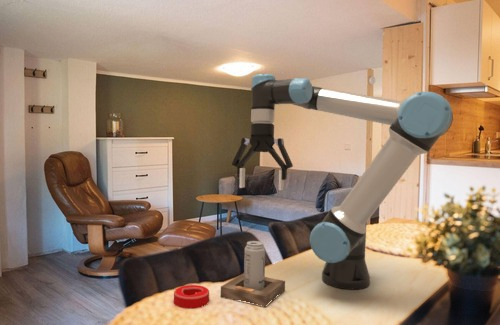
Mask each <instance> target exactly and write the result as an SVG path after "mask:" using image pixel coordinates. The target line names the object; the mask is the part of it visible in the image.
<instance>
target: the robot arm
mask: <svg viewBox="0 0 500 325" xmlns="http://www.w3.org/2000/svg"><path fill="white" fill-rule="evenodd" d="M250 91H251V113H250V114H251V115H250V122H251V125H250V139H249V138H246V137H242V138H241V141H240V145H239V148H238V151H237V152H236V155H235V156H234V158H233V161H232V163H231V165H232V166H234V167H236V169H237V170H236V172H237V173H236V175H237V176H236V177H237V178H239V185H238V186H239V189H243V188H245V187H246V168H245V167H244V166H245V165H246V164H247V162H248V161H249V160H250V159H251V158H252V156H254V154H255V153H269V154H270V155H271V157H272V158H273V159H274V160H275V162H276V163H277V164H278V166H279V167H280V168H281V169H278V191H283V190H284V187H285V186H284V185H285V182H284V181H285V180H287V176H288V173H287V172H288V170H289V169H292V168H293V167H294V165H293V162H292V161H291V159H290V156H289V153H288V152H287V149H286V147H285V143H284V139H283V138H281V137H280V138H277V139H276V138H275V137H274V136H275V125H274V122H275V106H276V105H294V106H296V107H300V108H303V109H306V110H314V111H320V112H323V113H324V112H325V113H329V114H333V115H339V116H344V117H349V118H353V119H358V120H364V121H369V122H373V123H378V124H382V125H383V124H384V125H387V126H389V128H388V132H389V133H388V134H389V138H388V139H387V140H386V141H385V143H384V144H383V146H382V147H381V149H380V150H379V151H378V153H377V154H376V155H375V156H374V158H373V159H372V160H371V163H370V164H369V165H368V167H367V168H366V169H365V171H363V173H362V175H361V176H360V177H359V178H358V180H357V182H356V183H355V185H354V186H353V187H352V189H351V190H350V191H349V193H348V194H347V195H346V197H345V198H344V200H343V201H342V202H341V204H340V205H337V206H332V207H331V209H329V211H328V213H327V214H326V215H325V216H324V218H323V220H322V221H320V222H319V223H317V224H316V225H315V226H314V227H313V229H312V230H311V232H310V235H309V244H310V248H311V250H312V252H313V253H314V255H315V256H316V257H317V258H318V259H319V260H321V261H323V262H325V263H324V266H323V269H322V271H321V272H322V273H321V280H322V282H323V283H324V284H327V285H328V286H331V287H334V288H338V289H344V290H362V289H365V288H368V287H369V286H370V284H371V276H370V273H369V269H368V265H367V263H366V244H367V241H366V240H367V239H366V238H367V225H368V221H369V220H370V218H371V217H372V216H373V214H374V213H375V212H376V211H377V210H378V209H379V207H380V206H381V204H382V203H383V202H384V201H385V199H386V198H387V197H388V195H389V194H390V192H391V191H392V190H393V189H394V187H395V186H396V184H397V183H399V181H400V179H401V178H402V176H403V175H404V174H405V173H406V172H407V170H408V169H409V168H410V166H411V165H412V164H413V163H414V161H415V160H416V159H417V157H418V156H420V155H423V154H428V153H429V152H430V151H431V149H432V147H433V146H435V144H436V143H437V141H438V140H439V139H440V137H442V136H444V135H445V134H446V133H447V132H448V131H450V128H451V127H452V124H453V122H454V121H453V120H454V115H453V109H452V106H451V104H450V102H449V101H448V100H447V99H446V98H445V97H443V96H442V94H438V93H437V92H433V91H427V90H426V91H420V92H416V93H413V94H412V95H410V96H408V97H407V98H404V99H403V100H396V99H391V98H383V97H378V96H371V95H366V94H362V93H361V94H360V93H355V92H354V93H353V92H349V91H348V92H347V91H343V90H342V91H341V90H336V89H330V88H323V87H319V86H313V85H312V82H311V81H310V79H309V78H304V77H303V78H301V77H300V78H299V77H295V78H291V79H290V78H289V79H278V80H277V79H276V76H275V75H274V74H271V73H258V74H255V75H253V76H252V79H251V89H250ZM249 144H250V145H251V146H250V148H249V149H248V151H247V152H246V153H245V151H246V149H247V147H248V146H249ZM274 145H276V146H277V147H278V149H279V152H280V154H281V156H282V158H283V159H282V158H281V157H280V155H279V154H278V153H277V151H276V150H275V148H274V147H273V146H274ZM244 153H245V155H244Z"/></svg>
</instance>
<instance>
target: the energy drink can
mask: <svg viewBox="0 0 500 325" xmlns="http://www.w3.org/2000/svg"><path fill="white" fill-rule="evenodd" d="M243 257H244V258H243V259H244V262H243V264H244V265H243V271H244V272H243V273H244V287H245V288H250V289H254V290H258V291H261V290H263V289H264V280H265V277H266V276H265V274H266V273H265V272H266V269H265V268H266V248H265V245H264V242H262V241H258V240H249V241H247V242H246V246H245V247H244V256H243Z"/></svg>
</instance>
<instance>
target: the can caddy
mask: <svg viewBox="0 0 500 325" xmlns="http://www.w3.org/2000/svg"><path fill="white" fill-rule="evenodd" d="M285 291H286V280H283V279H277V278H273V277H266V276H265V280H264V289H263V290H261V291H258V290H254V289H250V288H245V287H244V272H243V273H241V274H240V275H238V276H236V277H235V278H233V279H231V280H229V281H228V282H226V283H224V284H223V285H221V286H220V298H223V297H225V298H224V299H227V298H230V299H229V300H231V299H235V300H241V301H246V302H250V303H254V304H258V305H262V306H266V305H267V304H268V303H269V302H270V301H271V300H273V299H274V298H275V297H276V296H277V295H279V294H280V295H281V294H283V293H284V292H285ZM280 295H279V296H280ZM235 300H234V301H235ZM273 301H274V300H273ZM266 307H267V306H266Z"/></svg>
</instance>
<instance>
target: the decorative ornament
mask: <svg viewBox="0 0 500 325" xmlns="http://www.w3.org/2000/svg"><path fill="white" fill-rule="evenodd" d="M208 302H209V303H210V290H209V288H207V287H205V286H204V285H198V284H189V285H182V286H179V287H177V288H176V289H175V290H174V291H173V304H174V305H175V307H179V308H181V309H187V310H188V309H199V308H202V306H203V307H205V306H207V305H208V304H209V303H208ZM207 303H208V304H207ZM206 304H207V305H206ZM204 305H205V306H204Z"/></svg>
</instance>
